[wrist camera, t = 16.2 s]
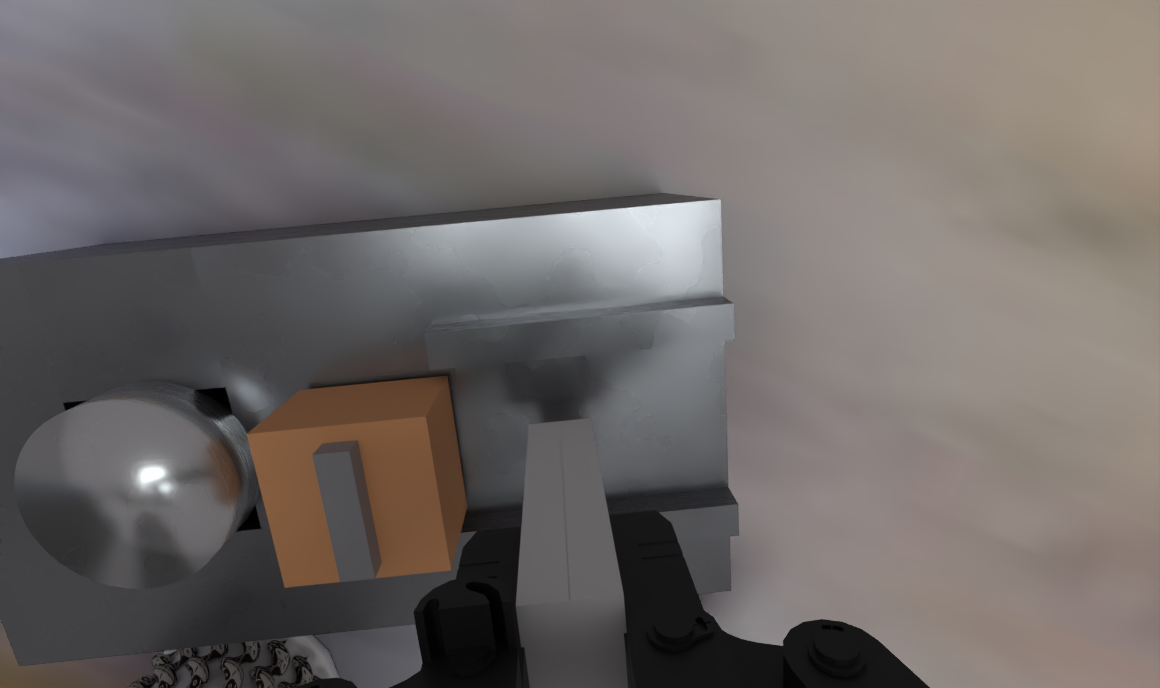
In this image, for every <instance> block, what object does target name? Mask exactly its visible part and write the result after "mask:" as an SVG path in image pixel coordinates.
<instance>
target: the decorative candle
mask: <svg viewBox="0 0 1160 688" xmlns="http://www.w3.org/2000/svg"><path fill="white" fill-rule="evenodd" d="M151 662H152V665H153V666H154V667H155V670H154V673H153V674H154V676H148V675H145V676H142V677H141V678H140V679H139V680H138V681H136V682H133V683H132V684H131V685H129V687H128V688H296V687H298V686H300V685H303V684H306V683H309V682H312V681H315V680H317V679H325V678H340V677H339V674H338V672H337V669H336V667H335V664H334V662H333V659H332V657H331V654H330V652H329V650H328V649H327V648H326V647H325V646H324V645H323V644H321V643H320V642H319V641H318V640H317V639H316V638H315V637H314V636H313V635H308V636H298V637H289V638H279V639H270V640H261V641H251V642H242V643H232V644H223V645H213V646H204V647H195V648H185V649H176V650H166V651H164V653H163V654H157V655H156V656H154V657H153V659H152V661H151Z"/></svg>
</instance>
